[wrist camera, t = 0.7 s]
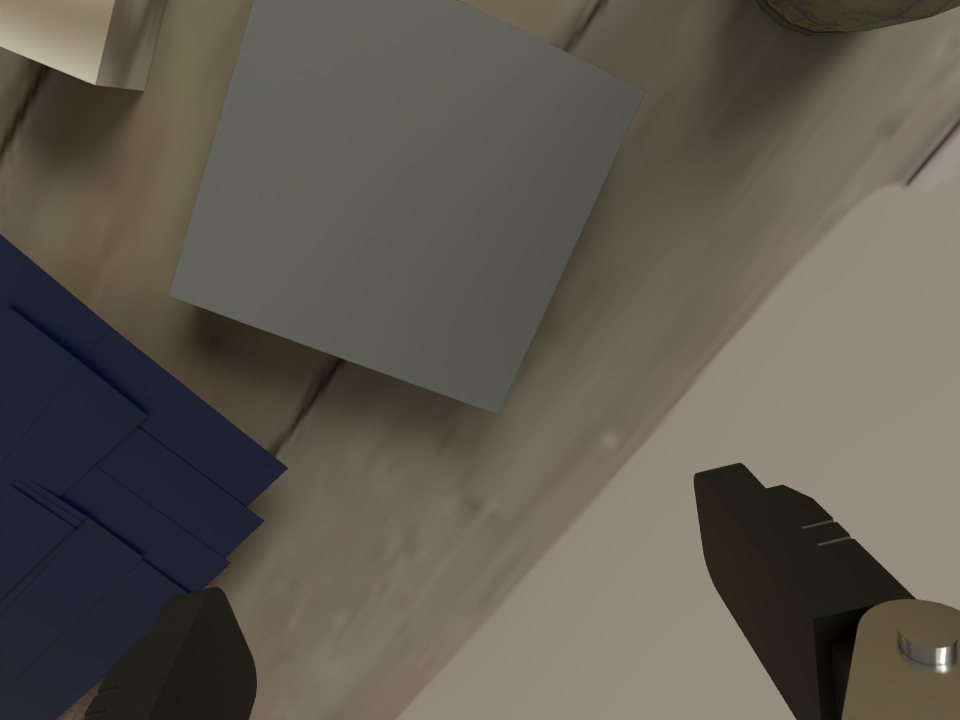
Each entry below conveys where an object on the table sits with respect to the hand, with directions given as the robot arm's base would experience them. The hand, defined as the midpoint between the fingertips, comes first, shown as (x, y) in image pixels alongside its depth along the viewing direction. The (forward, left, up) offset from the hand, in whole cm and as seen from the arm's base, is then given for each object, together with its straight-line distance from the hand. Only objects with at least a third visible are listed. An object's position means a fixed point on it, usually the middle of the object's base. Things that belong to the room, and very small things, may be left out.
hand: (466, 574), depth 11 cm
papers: (+21, -19, -25) cm, 38 cm away
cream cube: (-5, -18, -25) cm, 31 cm away
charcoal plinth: (-3, -3, -25) cm, 25 cm away
